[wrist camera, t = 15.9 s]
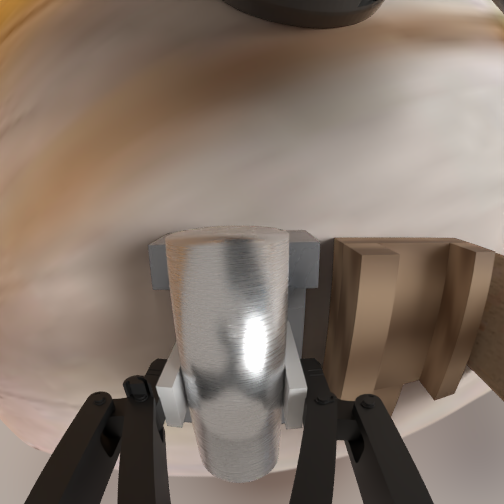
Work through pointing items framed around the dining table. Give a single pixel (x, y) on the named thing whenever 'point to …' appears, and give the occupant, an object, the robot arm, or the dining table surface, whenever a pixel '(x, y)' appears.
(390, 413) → the wooden clevis bracket
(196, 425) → the axle
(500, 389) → the wooden block
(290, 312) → the v block
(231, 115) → the dining table surface
